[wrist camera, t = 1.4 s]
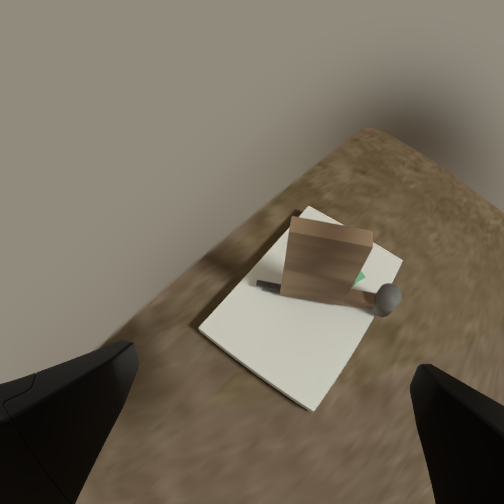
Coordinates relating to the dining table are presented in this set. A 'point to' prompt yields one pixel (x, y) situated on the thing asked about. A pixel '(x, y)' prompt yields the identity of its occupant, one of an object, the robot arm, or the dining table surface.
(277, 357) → the green-marked white board
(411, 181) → the dining table surface
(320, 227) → the brown slab with knob
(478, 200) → the dining table surface
